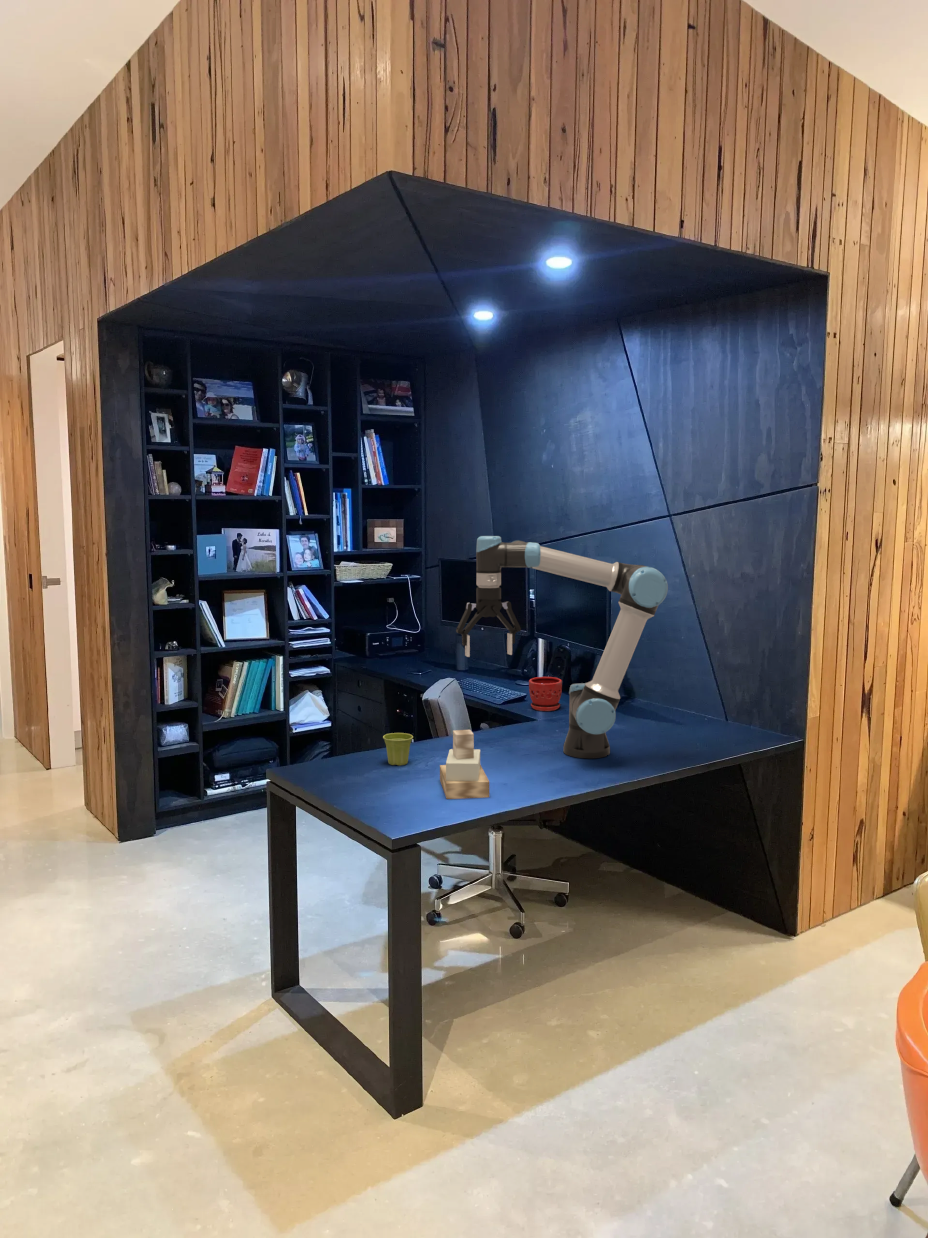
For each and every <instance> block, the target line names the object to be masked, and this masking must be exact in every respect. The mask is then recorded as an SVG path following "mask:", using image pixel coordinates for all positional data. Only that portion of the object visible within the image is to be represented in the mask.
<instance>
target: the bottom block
mask: <svg viewBox="0 0 928 1238" xmlns="http://www.w3.org/2000/svg"><path fill="white" fill-rule="evenodd" d="M439 781H440V784H441V787H442V789H443V793H444V796H445V798H446V800H458V799H459V800H460V799H481V798H482V799H485V798H490V780H489V778H488V776H487V774H486V773H485V770H484V769H483V767H482V765H481V764H480V772H479V780H478V781H446V764H439Z"/></svg>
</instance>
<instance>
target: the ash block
mask: <svg viewBox="0 0 928 1238" xmlns="http://www.w3.org/2000/svg"><path fill="white" fill-rule="evenodd" d="M474 736H475V734H474V732H473V731H472V730H471V729H457V730H452V749H453V755H454V756H455V758H456V759H467V758H474V749H475V747H474V746H475V744H474V743H475V740H474V739H475V738H474Z"/></svg>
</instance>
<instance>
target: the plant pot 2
mask: <svg viewBox="0 0 928 1238" xmlns="http://www.w3.org/2000/svg"><path fill="white" fill-rule="evenodd" d="M562 690H563V680H562V679H560V678H558V677H555V676H554V677H553V676H537V677H532V678H530V679H529V680H528V691H529V697H530V700H531V703H530V706H531V708H532V709H534V710H536V711H541V712H551V711H556V710H558V709H559V708H560V706H561V704H560V703H559V702H560V699H561V696H562V693H563V691H562Z"/></svg>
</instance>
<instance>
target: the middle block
mask: <svg viewBox="0 0 928 1238" xmlns="http://www.w3.org/2000/svg"><path fill="white" fill-rule="evenodd" d="M445 765H446V781H478V780H479V772H480V765H481V749H477V748H476V749H475V748H474V758H467V759H456V758H455V756H454V755H453V748H451V749H449V751H448V755H447V757H446V761H445Z"/></svg>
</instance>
